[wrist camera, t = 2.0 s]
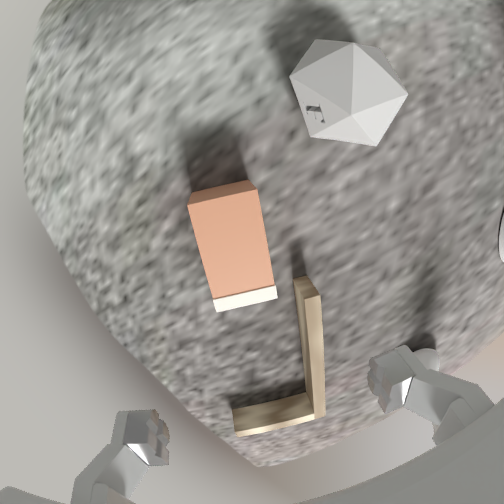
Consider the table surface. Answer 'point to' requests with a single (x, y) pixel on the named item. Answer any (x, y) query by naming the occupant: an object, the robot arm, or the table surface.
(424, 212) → the table surface
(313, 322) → the wooden corner bracket
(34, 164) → the table surface
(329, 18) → the table surface
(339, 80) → the die
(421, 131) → the table surface
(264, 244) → the block
